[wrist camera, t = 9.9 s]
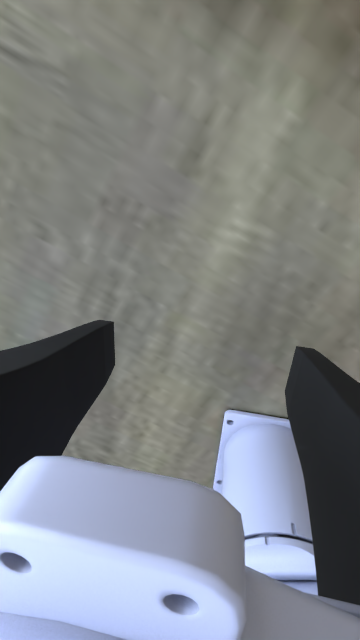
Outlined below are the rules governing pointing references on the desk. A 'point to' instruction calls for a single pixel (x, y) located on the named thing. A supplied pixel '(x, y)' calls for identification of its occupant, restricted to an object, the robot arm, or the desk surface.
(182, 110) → the desk surface
